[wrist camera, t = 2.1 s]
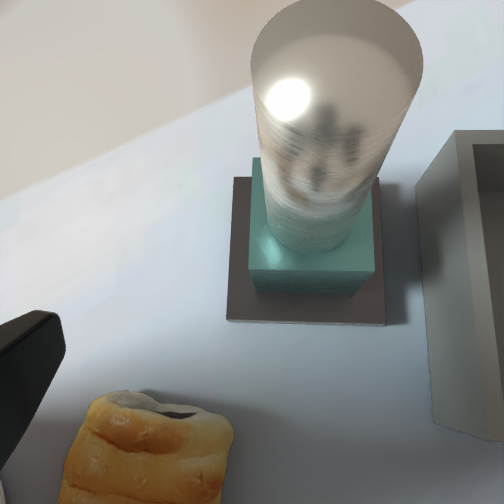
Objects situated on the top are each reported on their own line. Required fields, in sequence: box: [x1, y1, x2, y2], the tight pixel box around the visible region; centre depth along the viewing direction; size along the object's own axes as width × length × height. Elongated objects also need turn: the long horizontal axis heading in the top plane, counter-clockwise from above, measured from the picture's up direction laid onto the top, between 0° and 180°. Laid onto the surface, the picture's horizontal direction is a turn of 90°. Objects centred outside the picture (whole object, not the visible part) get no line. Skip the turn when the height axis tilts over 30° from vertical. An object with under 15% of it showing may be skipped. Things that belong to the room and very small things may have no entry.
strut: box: [248, 0, 423, 294], centre depth 14 cm, size 4×4×12 cm
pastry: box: [57, 390, 235, 504], centre depth 16 cm, size 9×7×4 cm
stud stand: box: [226, 177, 386, 326], centre depth 18 cm, size 7×7×4 cm
